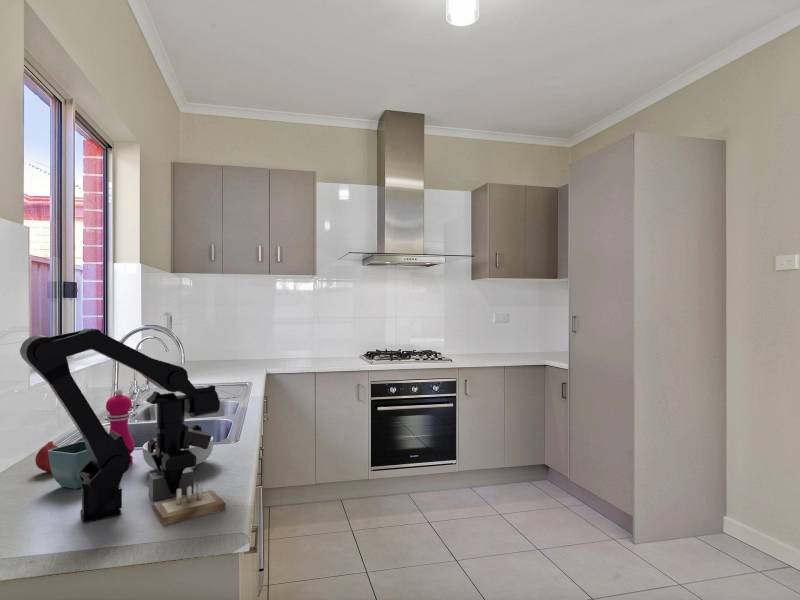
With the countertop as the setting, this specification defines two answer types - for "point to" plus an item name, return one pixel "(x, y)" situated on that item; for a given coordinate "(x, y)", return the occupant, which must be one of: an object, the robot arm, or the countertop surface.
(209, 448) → the cereal bowl
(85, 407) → the robot arm
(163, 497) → the block
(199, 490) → the header pins
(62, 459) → the flower pot
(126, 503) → the countertop surface
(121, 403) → the pepper mill
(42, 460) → the onion
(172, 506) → the pin board
